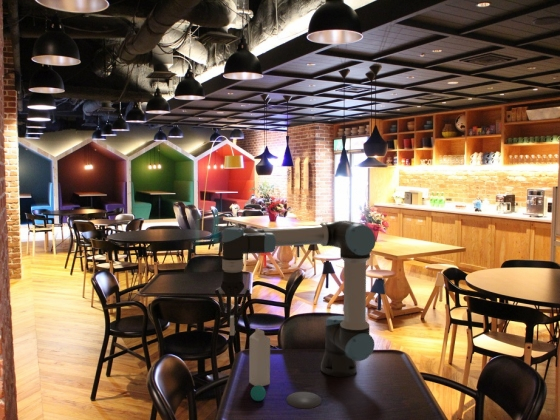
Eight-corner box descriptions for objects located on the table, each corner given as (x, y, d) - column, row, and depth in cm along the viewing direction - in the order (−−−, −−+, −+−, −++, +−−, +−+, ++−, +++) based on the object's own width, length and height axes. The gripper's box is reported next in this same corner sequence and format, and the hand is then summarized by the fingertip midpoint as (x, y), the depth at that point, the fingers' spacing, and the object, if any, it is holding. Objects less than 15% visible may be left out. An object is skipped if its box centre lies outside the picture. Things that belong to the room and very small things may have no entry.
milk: (257, 388, 193) (257, 333, 191) (249, 382, 198) (249, 329, 196) (270, 384, 197) (270, 330, 195) (261, 378, 201) (261, 326, 200)
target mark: (319, 392, 190) (319, 391, 190) (323, 408, 177) (323, 407, 177) (285, 392, 189) (285, 391, 189) (287, 408, 176) (287, 408, 176)
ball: (265, 396, 185) (265, 382, 185) (265, 403, 180) (265, 389, 179) (250, 396, 185) (250, 382, 185) (250, 403, 180) (250, 389, 179)
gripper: (213, 272, 175) (213, 337, 176) (250, 272, 175) (249, 337, 177) (215, 268, 182) (215, 330, 184) (251, 268, 182) (250, 331, 184)
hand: (232, 334), depth 180 cm, fingers closed
